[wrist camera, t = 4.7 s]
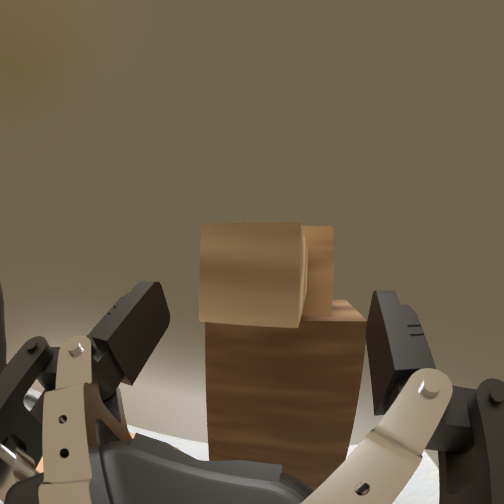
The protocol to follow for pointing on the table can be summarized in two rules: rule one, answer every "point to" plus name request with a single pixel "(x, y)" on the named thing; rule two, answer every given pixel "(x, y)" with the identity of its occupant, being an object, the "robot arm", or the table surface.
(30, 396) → the table surface
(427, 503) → the table surface
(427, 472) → the table surface
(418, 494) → the table surface
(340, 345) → the walnut block
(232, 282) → the mallet
